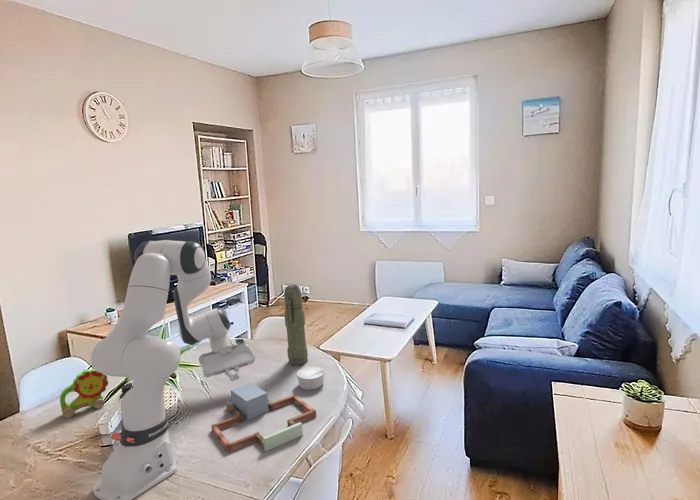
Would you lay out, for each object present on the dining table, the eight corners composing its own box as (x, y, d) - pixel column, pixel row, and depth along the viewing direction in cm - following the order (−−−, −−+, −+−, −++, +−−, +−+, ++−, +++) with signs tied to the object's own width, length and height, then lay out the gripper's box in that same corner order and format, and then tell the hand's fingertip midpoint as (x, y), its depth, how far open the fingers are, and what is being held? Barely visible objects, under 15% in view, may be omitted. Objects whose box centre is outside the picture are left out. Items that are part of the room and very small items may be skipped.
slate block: (232, 408, 158) (230, 390, 157) (252, 399, 164) (250, 382, 162) (248, 420, 149) (246, 401, 148) (268, 411, 155) (267, 392, 153)
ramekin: (321, 392, 166) (320, 379, 165) (293, 390, 168) (292, 378, 168) (328, 378, 177) (327, 366, 176) (302, 377, 179) (301, 365, 178)
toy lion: (63, 420, 157) (56, 380, 154) (62, 414, 161) (55, 375, 159) (112, 405, 166) (106, 367, 163) (110, 399, 170) (104, 363, 168)
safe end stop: (264, 449, 132) (263, 437, 131) (301, 433, 139) (300, 422, 138) (266, 451, 131) (264, 439, 130) (303, 435, 138) (302, 423, 137)
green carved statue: (285, 367, 191) (278, 290, 185) (291, 356, 202) (285, 283, 197) (305, 366, 190) (299, 289, 184) (310, 356, 201) (304, 282, 196)
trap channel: (201, 417, 153) (200, 411, 153) (281, 388, 170) (280, 384, 170) (235, 462, 127) (234, 455, 126) (325, 423, 144) (324, 417, 144)
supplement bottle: (128, 424, 151) (123, 391, 149) (118, 418, 155) (114, 387, 154) (147, 415, 157) (142, 384, 155) (137, 410, 161) (133, 379, 159)
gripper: (198, 351, 164) (209, 384, 158) (249, 338, 176) (261, 368, 169) (196, 359, 168) (207, 391, 162) (246, 345, 180) (258, 375, 174)
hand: (235, 379), depth 166 cm, fingers closed
